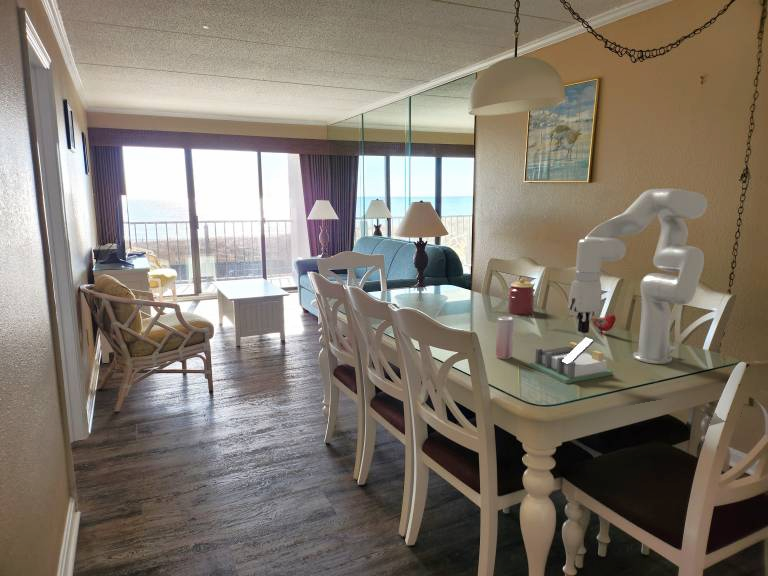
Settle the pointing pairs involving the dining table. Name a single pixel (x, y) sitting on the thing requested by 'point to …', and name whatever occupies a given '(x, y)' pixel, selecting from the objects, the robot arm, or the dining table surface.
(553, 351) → the strap
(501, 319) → the beverage can
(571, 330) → the dining table surface
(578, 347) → the near strap
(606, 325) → the decorative bird figurine
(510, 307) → the canister
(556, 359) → the board
